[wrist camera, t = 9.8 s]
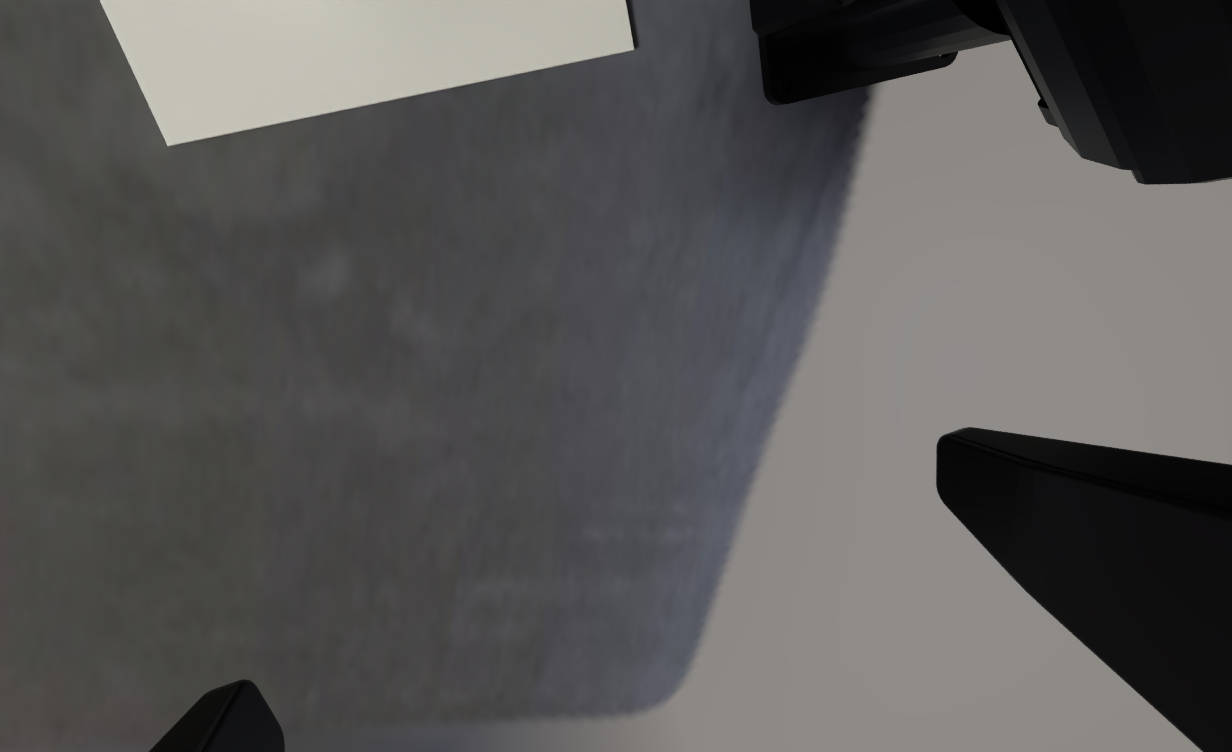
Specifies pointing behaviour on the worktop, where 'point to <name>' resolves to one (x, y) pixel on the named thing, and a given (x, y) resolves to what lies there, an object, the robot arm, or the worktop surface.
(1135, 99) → the robot arm
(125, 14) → the tile
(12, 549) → the worktop surface
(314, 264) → the worktop surface
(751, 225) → the worktop surface
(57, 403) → the worktop surface
